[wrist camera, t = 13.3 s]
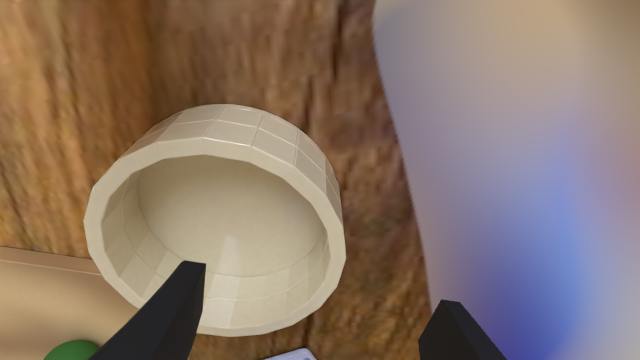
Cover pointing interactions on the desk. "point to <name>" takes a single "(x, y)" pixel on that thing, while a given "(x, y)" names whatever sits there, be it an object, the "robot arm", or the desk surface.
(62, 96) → the desk surface
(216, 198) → the pot
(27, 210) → the desk surface
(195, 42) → the desk surface
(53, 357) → the cucumber
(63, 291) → the cutting board
